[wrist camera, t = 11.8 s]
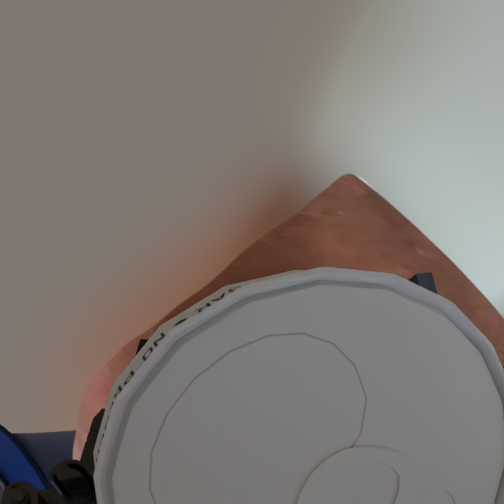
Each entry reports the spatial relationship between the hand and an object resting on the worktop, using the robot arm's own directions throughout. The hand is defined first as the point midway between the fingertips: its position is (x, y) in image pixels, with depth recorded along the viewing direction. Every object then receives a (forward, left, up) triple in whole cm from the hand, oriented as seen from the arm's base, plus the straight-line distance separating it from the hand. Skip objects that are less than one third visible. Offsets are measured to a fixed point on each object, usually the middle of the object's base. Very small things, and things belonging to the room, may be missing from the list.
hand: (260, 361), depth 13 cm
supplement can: (0, -3, -6) cm, 7 cm away
